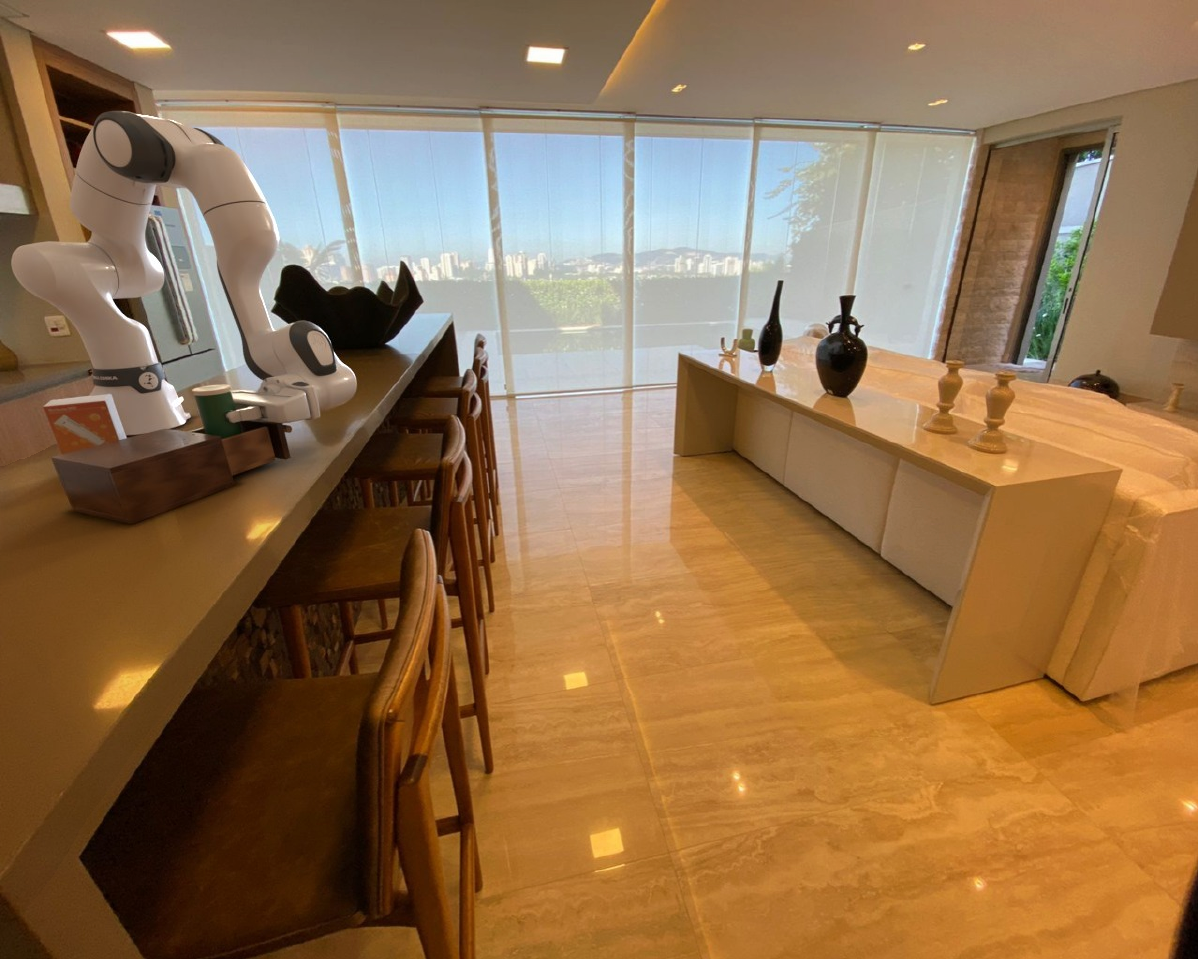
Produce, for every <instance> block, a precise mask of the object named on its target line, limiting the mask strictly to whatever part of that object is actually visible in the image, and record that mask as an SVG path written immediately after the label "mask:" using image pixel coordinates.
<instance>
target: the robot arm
mask: <svg viewBox="0 0 1198 959" xmlns="http://www.w3.org/2000/svg"><path fill="white" fill-rule="evenodd" d="M157 186H158V187H159V186H160V187H165V188H171V189H186V190H188V191H189V192H190V194H192V196H193V198H194V200H195V202H196V204H197V206H198V209H199V210H200V213H201V215H202V217H203V219H204V221H205V223H206V226H207V228H208V231H209V233H210V236H211V238H212V242H213V246H214V250H215V256H216V269H217V273H218V278H219V280H220V283H221V286H222V289H223V292H224V294H225V297H226V300H227V303H228V305H229V307H230V310H231V313H232V316H233V319H234V321H235V324H236V327H237V330H238V332H239V335H240V340H241V346H242V355H243V360H244V362H245V364H246V366H247V368H248V369H249V371H250V372H251V373H252V375H254V376H255V377H257V378H258V379H260V380H261V381H262V382H261V383H260V386H259V388H258V389H257V390H255V389H254V390H252V389H231V393H232V397H233V401H234V404H235V408H236V410H231V411H228V412H225V413H224V417H225V420H226V422H231V423H235V422H239V421H245V420H258V421H266V422H275V423H283V424H291V423H295V422H300V421H304V420H305V421H315V420H318V419H320V418H321V412H322V413H323V412H326V411H329V410H332V409H335V408H337V407H338V408H339V407H340V406H342V405H345V404H346V403H347V402H350V401H351V400H352V399H353V398H354V396H355V394H356V392H357V388H358V382H357V381H358V380H357V377H356V375H355V373H354V371H353V370H352V369H351V368H350V367H349V366H347V364H344V363H343V362H342V361H341V360H340V358H339V357H338V356H337V354H336V353H335V351H334V348H333V345H332V342H331V340H330V338H329V336H328V334H327V333H326V332H325V331H324V330H323V329H322V328H321V327H320V326H319V325H316V324H315V323H313V322H311V321H307V320H297V321H294V322H291V323H289V324H286V325H284V326H282V327H279V328H278V329H274V327H273V325H272V322H271V319H270V316H269V313H268V310H267V307H266V305H265V304H266V303H265V301H264V298H263V295H262V291H261V282H262V277H263V275H264V273H265V270H266V268H267V267H268V265H269V264H270V262H271V261H272V259H273V258H275V255H276V253H277V251H278V248H279V245H280V234H279V230H278V227H277V223H276V220H275V217H274V216H273V213H272V211H271V209H270V206H269V205H268V202H267V201H266V198H265V196H264V194H263V192H262V190H261V188H260V187H259V185H258V183H257V181H256V179H255V177H254V176H253V174H252V173H251V171H250V170H249V168H248V166H247V165H246V164H245V162H244V160H243V159H242V157H241V156H240V155H239V154H238V153H237V152H236V151H235V150H233V149H232V148H230V147H228V146H226V145H225V144H224V143H223V141H222V140H220V139H218V137H216V136H215V135H213V134H212V133H209V132H207V131H205V130H203V129H201V128H198V127H192V126H189V125H187V124H184V123H181V122H178V121H175V120H172V119H168V118H161V117H160V118H159V117H155V116H149V115H142V114H137V113H134V112H131V111H125V110H111V111H105V112H102V113H100V114H99V115H98V116H97V118H96V119H95V121H94V123H93V126H92V127H91V129H90V131H89V133H88V135H87V136H86V138H85V140H84V143H83V145H82V147H81V151H80V152H79V156H78V159H77V163H76V167H75V171H74V177H73V182H72V186H71V191H70V197H69V202H68V206H69V210H70V211H71V213H72V215H73V217H74V218H75V219H76V220H77V222H78V223H80V224H81V225H82V226H83V227H84V228H86V230H88V231H90V232H91V236H90V238H89V239H88V241H86V242H85V241H84V242H80V241H76V242H75V241H52V240H49V241H48V240H47V241H40V242H34V243H29V244H24V245H23V244H22V245H20V246H18V247H17V248H16V249H15V250H14V251H13V253H12V256H11V262H10V263H11V270H12V273H13V274H14V277H15V279H16V280H17V281H18V283H19V284H20V285H21V287H23V288H24V289H25V290H26V291H27V292H29V293H30V294H32V295H33V296H35V297H37V298H39V299H41V300H43V301H45V302H46V303H49V304H50V305H52V306H53V307H54V308H56V309H57V310H58V311H59V312H61V313H62V314H63V315H64V316H65V318H67V320H68V321H69V322H70V323H71V324H72V325H73V327H74V328H75V329H76V331H77V332H78V334H79V336H80V338H81V341H82V343H83V345H84V348H85V350H86V352H87V354H88V357H89V359H90V362H91V365H92V367H93V368H92V369H91V370H89V373H91V374H90V376H91V378H92V385H94V388H93V389H92V390H91V392H90V393H89V394H88V396H96V395H105V394H111V395H112V398H113V401H114V404H115V407H116V409H117V412H118V415H119V418H120V421H121V424H122V427H123V429H124V432H125V435H126V436H137V435H141V434H145V433H149V432H153V431H157V430H161V429H175V428H177V427H180V426H182V425H184V424H185V423H187V420H188V419H191V418H192V415H191V414H190V412H185V410H184V408H183V406H182V402H183V401H184V397H183V396H180V397H179V396H178V394H177V391H176V388H175V386H174V385H172V384H171V383H169V382H167V381H166V378H167V377H166V374H165V368H164V367H163V365H162V363H161V362H160V361H159V360H158V357H157V354H156V351H155V348H154V344H153V341H152V338H151V335H150V332H149V330H148V329H147V327H146V326H145V325H144V324H142V323H141V322H139V321H137V320H135V319H132V318H130V317H127V316H126V315H125V314H123V313H122V311H121V310H120V309H119V308H118V306H117V305H116V304H115V301H114V300H115V299H133V298H134V299H136V298H140V297H145V296H148V295H152V294H155V293H158V292H160V290H161V289H163V286H164V284H165V271H164V268H163V266H162V264H161V262H160V261H159V259H158V258H157V257H156V256H155V255H154V254H153V253H152V252H150V250H149V249H148V246H147V242H146V231H147V225H148V221H149V216H150V212H151V208H152V205H153V201H154V198H155V197H154V196H155V192H156V188H157ZM197 415H198V418H199V419H201V416H200V413H199V410H198V409H197ZM201 420H202V419H201Z"/></svg>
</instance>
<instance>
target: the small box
mask: <svg viewBox="0 0 1198 959" xmlns="http://www.w3.org/2000/svg"><path fill="white" fill-rule="evenodd" d="M42 408H43V411H44V413H45V417H46V419H47V421H48V424H49V427H50V429H51V432H52V434H53V436H54V439H55V442H56V444H57V447H58V449H59V453H60V455H62V454H66V453H70V452H74V451H78V450H82V449H86V448H90V447H94V446H98V445H102V444H106V443H110V442H114V441H118V440H122V439H126V438H127V435H125V432H124V429H123V427H122V424H121V421H120V418H119V415H118V412H117V409H116V407H115V404H114V401H113V398H112V395H111V394H105V395H96V396H89V395H83V396H76V397H67V398H66V397H65V398H57V399H56V398H55V399H51V400H49V401H48V402H46V404H45V403H44V405H43V406H42Z"/></svg>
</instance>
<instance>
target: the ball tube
mask: <svg viewBox="0 0 1198 959" xmlns="http://www.w3.org/2000/svg"><path fill="white" fill-rule="evenodd" d="M231 390H232V387H231V385H230V384H209V385H202V386H198V387H195V388H192V389H191V392H192V395H193V396H194V400H195V403H196V406H197V411H198V410H199V413H200V416H201V423H202V427H204V429H205V433H206V434H208V435H215V436H221V439H224V438H228V437H231V436H234V435H238V434H241V433H242V429H241V426H240V422H235V423H231V422H226V420H225V417H224V413H225V412H228V411H231V410H236V408H235V404H234V401H233V397H232V393H231Z"/></svg>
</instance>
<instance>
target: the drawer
mask: <svg viewBox="0 0 1198 959" xmlns="http://www.w3.org/2000/svg"><path fill="white" fill-rule="evenodd" d="M239 422H240V426H241V429H242V433H241V434H238V435H234V436H231V437H228V438H224V439H222V442H223V446H224V449H225V453H226V456H227V460H228V463H229V467H230V470H231V474H232V477H233V476H236V475H240V474H241V473H244V472H247V471H249V470H252V469H255V468H258V467H261V466H263V465H266V464H269V463H271V462H274V461H276V460H277V459H279V460H289V459H291V458H292V457H291V452H290V449H289V445H288V441H287V437H286V433H288V434H289V433H291V432H292V431H293V426H291V425H289V424H284V423H275V422H266V421H258V420H245V421H239ZM186 432H194V433H201V434H206V433H205V429H204V426H202V427H199V428H196V429H192V430H188V431H186Z"/></svg>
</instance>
